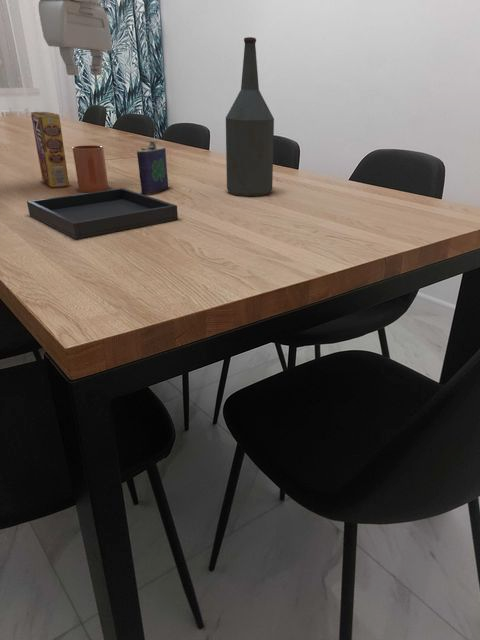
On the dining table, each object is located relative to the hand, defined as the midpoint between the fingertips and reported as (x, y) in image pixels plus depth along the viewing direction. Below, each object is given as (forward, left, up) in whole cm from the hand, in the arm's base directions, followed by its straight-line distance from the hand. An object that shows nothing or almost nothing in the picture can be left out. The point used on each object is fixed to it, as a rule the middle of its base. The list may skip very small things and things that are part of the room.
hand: (85, 75), depth 102 cm
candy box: (-5, +12, -23) cm, 27 cm away
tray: (-11, -23, -23) cm, 34 cm away
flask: (+9, -9, -23) cm, 26 cm away
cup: (-1, +1, -23) cm, 23 cm away
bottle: (+25, -23, -23) cm, 41 cm away
